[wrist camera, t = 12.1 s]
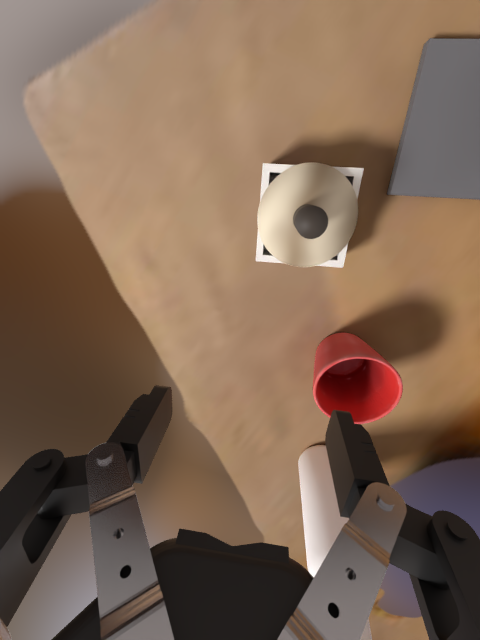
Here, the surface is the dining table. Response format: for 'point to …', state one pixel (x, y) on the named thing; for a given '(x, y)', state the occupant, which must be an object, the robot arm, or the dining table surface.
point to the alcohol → (320, 510)
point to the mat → (442, 125)
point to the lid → (307, 214)
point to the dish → (270, 174)
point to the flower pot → (354, 379)
